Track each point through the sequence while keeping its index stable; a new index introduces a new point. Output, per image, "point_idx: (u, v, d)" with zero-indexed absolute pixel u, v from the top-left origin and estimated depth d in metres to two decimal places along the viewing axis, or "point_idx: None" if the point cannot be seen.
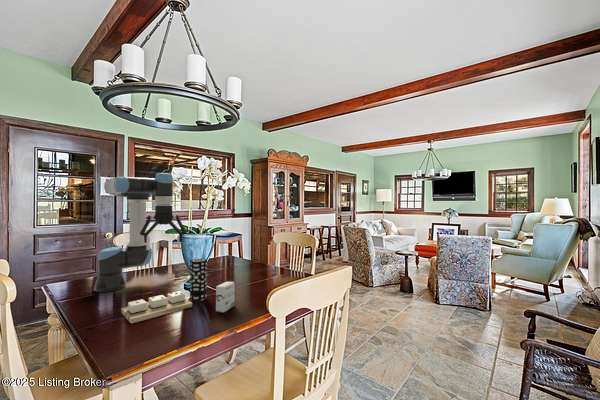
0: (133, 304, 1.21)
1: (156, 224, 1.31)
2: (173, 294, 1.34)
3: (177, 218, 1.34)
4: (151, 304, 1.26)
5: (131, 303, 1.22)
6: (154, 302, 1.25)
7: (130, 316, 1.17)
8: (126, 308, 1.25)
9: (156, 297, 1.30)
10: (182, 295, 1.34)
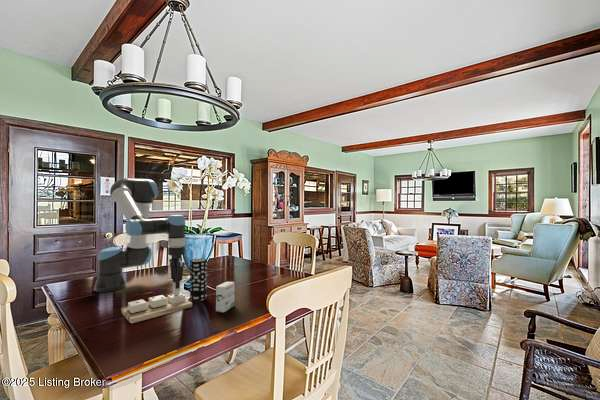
0: (133, 304, 1.21)
1: (172, 266, 1.35)
2: (173, 296, 1.34)
3: (178, 265, 1.31)
4: (151, 304, 1.26)
5: (131, 303, 1.22)
6: (154, 302, 1.25)
7: (130, 316, 1.17)
8: (126, 308, 1.25)
9: (156, 297, 1.30)
10: (182, 297, 1.34)
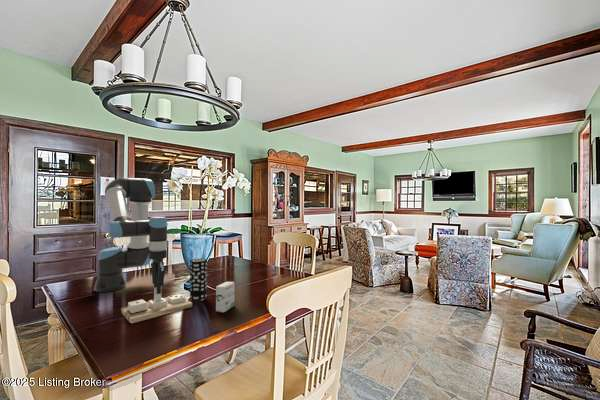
0: (133, 304, 1.21)
1: (153, 270, 1.29)
2: (173, 297, 1.34)
3: (159, 270, 1.25)
4: (151, 307, 1.26)
5: (131, 303, 1.22)
6: (154, 305, 1.25)
7: (130, 316, 1.17)
8: (126, 308, 1.25)
9: None
10: (182, 298, 1.34)
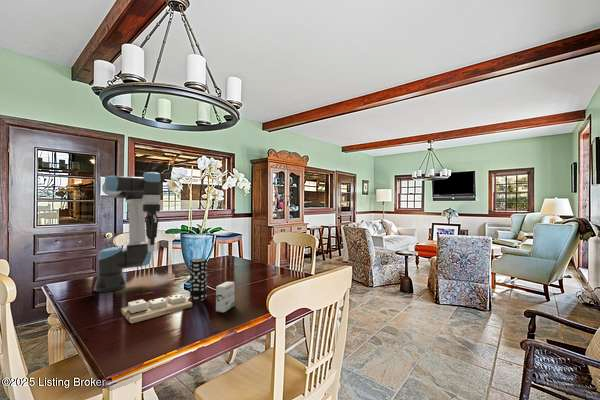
0: (133, 304, 1.21)
1: (147, 223, 1.36)
2: (173, 297, 1.34)
3: (152, 221, 1.32)
4: (151, 307, 1.26)
5: (131, 303, 1.22)
6: (154, 305, 1.25)
7: (130, 316, 1.17)
8: (126, 308, 1.25)
9: (156, 300, 1.30)
10: (182, 298, 1.34)
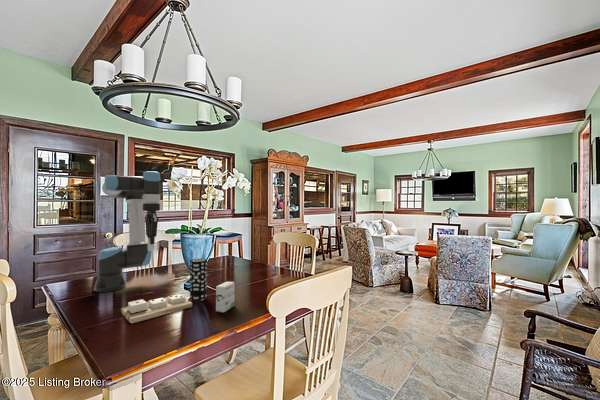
0: (133, 304, 1.21)
1: (147, 222, 1.36)
2: (173, 297, 1.34)
3: (152, 220, 1.32)
4: (151, 307, 1.26)
5: (131, 303, 1.22)
6: (154, 305, 1.25)
7: (130, 316, 1.17)
8: (126, 308, 1.25)
9: (156, 300, 1.30)
10: (182, 298, 1.34)
